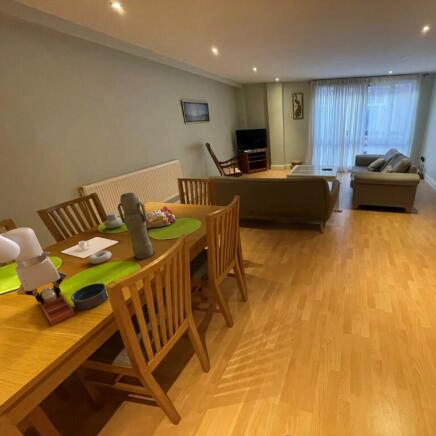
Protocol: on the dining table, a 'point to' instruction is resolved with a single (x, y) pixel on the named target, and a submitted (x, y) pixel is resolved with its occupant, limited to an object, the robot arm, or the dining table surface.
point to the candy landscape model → (159, 218)
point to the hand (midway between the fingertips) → (50, 297)
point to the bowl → (89, 296)
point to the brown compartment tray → (57, 309)
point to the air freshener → (112, 221)
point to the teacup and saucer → (89, 247)
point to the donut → (99, 257)
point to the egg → (48, 295)
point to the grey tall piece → (136, 224)
